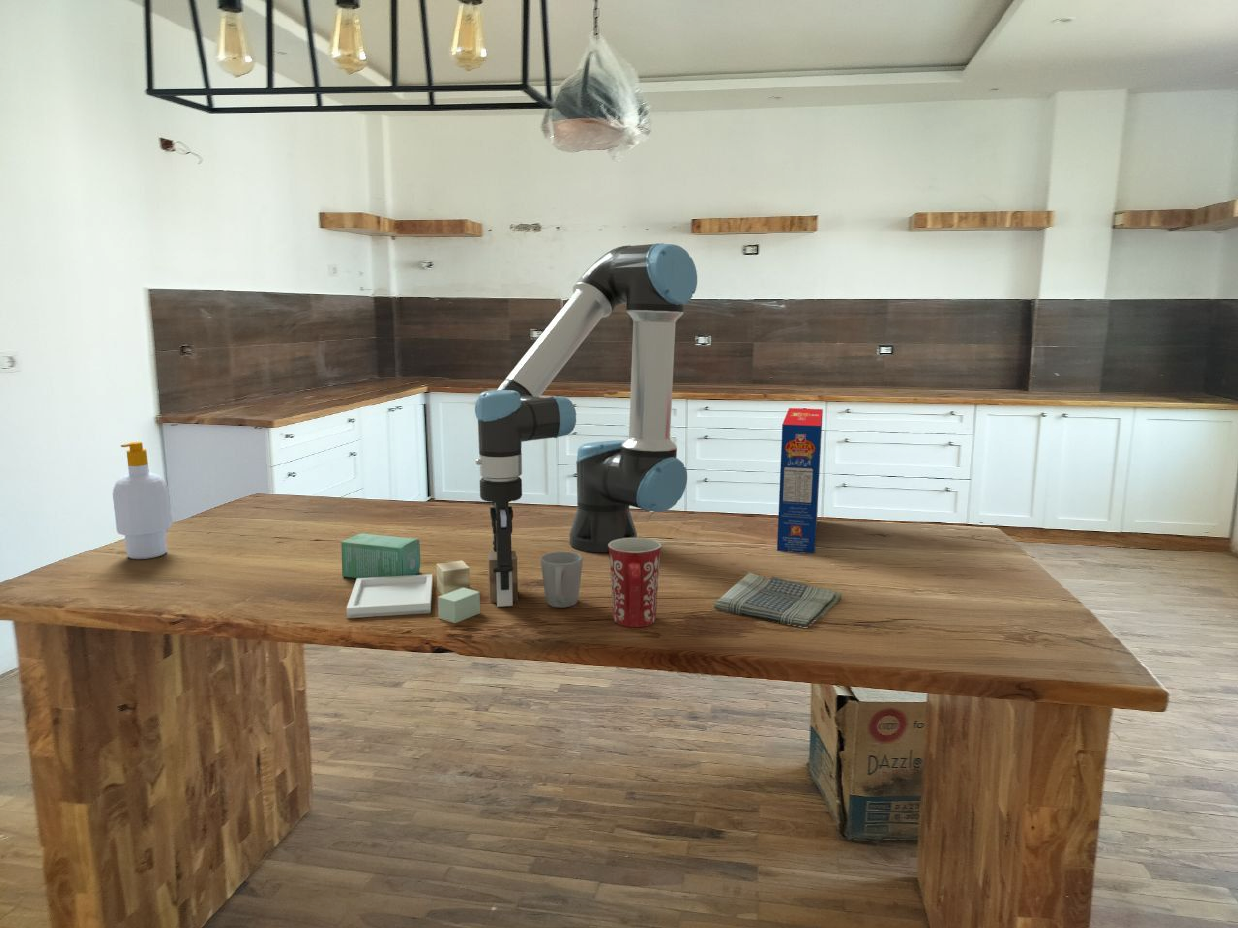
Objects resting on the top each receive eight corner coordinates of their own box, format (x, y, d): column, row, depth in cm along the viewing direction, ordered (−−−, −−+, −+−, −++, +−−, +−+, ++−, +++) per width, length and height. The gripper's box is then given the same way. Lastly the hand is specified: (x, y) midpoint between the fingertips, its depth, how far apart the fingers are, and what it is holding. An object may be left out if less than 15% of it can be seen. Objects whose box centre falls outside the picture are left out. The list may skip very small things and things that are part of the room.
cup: (584, 595, 158) (584, 551, 156) (579, 615, 148) (579, 568, 147) (544, 594, 158) (543, 550, 157) (536, 614, 149) (535, 567, 147)
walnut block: (516, 591, 160) (515, 550, 159) (518, 600, 155) (517, 558, 154) (489, 593, 159) (488, 552, 158) (490, 602, 154) (489, 560, 153)
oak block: (463, 585, 164) (462, 560, 163) (470, 593, 159) (469, 567, 158) (437, 589, 162) (436, 563, 161) (444, 597, 157) (443, 571, 156)
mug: (609, 609, 151) (609, 536, 149) (660, 610, 151) (661, 537, 148) (604, 637, 139) (604, 558, 136) (660, 639, 138) (661, 559, 136)
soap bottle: (108, 558, 179) (95, 445, 174) (151, 545, 188) (139, 437, 183) (143, 564, 175) (131, 448, 170) (185, 551, 184) (174, 440, 180)
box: (404, 584, 164) (402, 546, 163) (341, 578, 167) (339, 541, 166) (422, 572, 171) (420, 536, 170) (361, 567, 174) (359, 532, 173)
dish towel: (808, 633, 142) (809, 614, 142) (712, 612, 152) (712, 595, 151) (843, 600, 158) (844, 583, 157) (753, 583, 167) (754, 567, 167)
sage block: (464, 608, 152) (463, 587, 151) (480, 613, 149) (479, 591, 149) (438, 618, 147) (437, 596, 146) (455, 624, 145) (454, 601, 144)
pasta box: (784, 519, 213) (789, 408, 208) (817, 521, 211) (822, 409, 206) (776, 550, 187) (782, 424, 181) (814, 553, 185) (820, 426, 179)
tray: (432, 583, 165) (432, 574, 164) (430, 612, 149) (430, 603, 149) (357, 587, 162) (356, 578, 162) (347, 618, 147) (346, 608, 146)
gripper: (477, 465, 163) (480, 577, 167) (481, 491, 141) (484, 619, 146) (517, 464, 164) (519, 575, 169) (526, 490, 143) (528, 616, 147)
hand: (503, 595), depth 157 cm, fingers open, 10 cm apart
